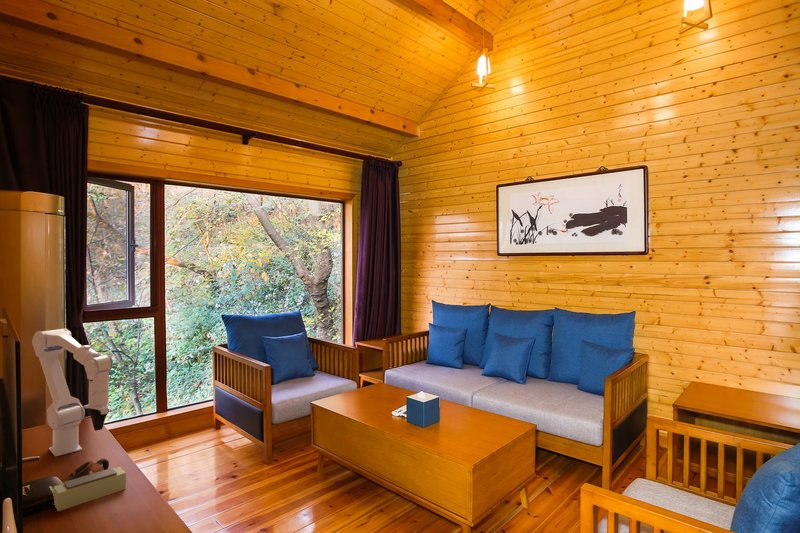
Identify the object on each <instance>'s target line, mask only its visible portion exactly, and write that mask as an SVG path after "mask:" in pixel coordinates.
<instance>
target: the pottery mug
mask: <svg viewBox="0 0 800 533" xmlns="http://www.w3.org/2000/svg"><path fill="white" fill-rule="evenodd" d="M109 465H110V461H109V460H108V459H107V458H100V459H99V460H97V461H96V462H95V463H94V462H93V460H89V461H87V462H84V463H83V464H81V465H80V466H79V467H77V468H76V469H75V470H74V472H75V474H74V473H72V472H71V473H70V474H69V475H68V476H67V478H66V481H69V480H73V479H76V478H79V477H83V476H86V475H90V474H91V472H93V473H97V472H100V471H103V470H107V469H109V467H110V466H109Z"/></svg>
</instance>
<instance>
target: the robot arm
mask: <svg viewBox="0 0 800 533" xmlns="http://www.w3.org/2000/svg"><path fill="white" fill-rule="evenodd" d="M72 336H73V335H72V332H71V331H70V330H69V329H68V328H66V327H64V328H58V329H51V330H43V331H36V332H35V333H34V334H33V337H32V340H31V343H32V347H33V350H34V353H35V356H36V357H38V359H39V362H40V366H41V368H42V372H43V374H44V378H45V380H46V384H47V387H48V391H49V394H50V397H51V399H52V403H51V404H50V405H49V406H48V407H47V409H46V417H47V419H46V421H47V425H48V427H50V428H51V429H52V446H50V447H48V448H49V451H50V452H51V453H52V454H53V456H54V457H59V456H62V455H67V454H70V453H71V454H72V453H75V452H78V451H79V452H80V451H82V450H83V448H82V447H81V445H80V444H79V439H80V438H79V431H80V430H79V427H80V426H79V425H80V424H81V423H82V422H81V421H82V420H84V417H85V416H86V415H85V414H86V411H85V409H88V410H87V413H88V414H89V417H90V419H91V422H92V426H93V430H94V431H95V432H97V431H101V430H103V428H104V424H105V421H106V418H107V416H108V414H109V412H110V408H109V405H110V402H109V389H110V388H109V386H110V384H109V380H110V379H109V375H110V374H109V372H110V371H111V370H112V369H113V367H114V361H113V358H112V357H111V355H109V354H108V353H107V354H101V353H100V352H97V351H96V350H94V349H93V348H92V347H91V346H90V345H89V344H87V345H82V344H80V343H79V342H78V341H77V340H76V339H75V338H74V337H72ZM64 350H66V351H68V352H69V353H71V354H73V355H72V357H73V359H74V360H75V361H77V362H78V363H79V364H81V365H83V366H84V370H85V373H86V379H87V380H88V404H85V405H84V406H83V405H82V404H81V402H80V399H79V398H76V397H74V396H72V395H71V394H70V393H71V392H70V389H69V386H68V385H67V384H68V383H67V380H66V378H65V375H64V370H63V369H62V366H61V361H60V358H59V355H60V354H62V353H63V352H64Z"/></svg>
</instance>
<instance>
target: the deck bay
mask: <svg viewBox="0 0 800 533" xmlns="http://www.w3.org/2000/svg"><path fill="white" fill-rule="evenodd" d="M49 488H50V490H51V491H52V493H53V496H54V504H53V506H54V505H55V506H54V508H55V509H56V510H57V512H61V511H64V510H67V509H70V508H72V507H76V506H79V505H81V504H85V503H88V502H91V501H94V500H97V499H101V498H103V497H107V496H109V495H112V494H116V493H118V492H121V491H125V490H127V472H126V471H125V470H124V469H123V468H122V467H120V466H118V467H110V468H108V469H107V470H103V471H100V472H97V473H94V472H93V473H90V474H89V475H86V476H83V477H79V478H76V479H73V480H69V481H68V480H66V481H63V483H60V484H57V485H53V486H52V485H49V487H48V489H49Z"/></svg>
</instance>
